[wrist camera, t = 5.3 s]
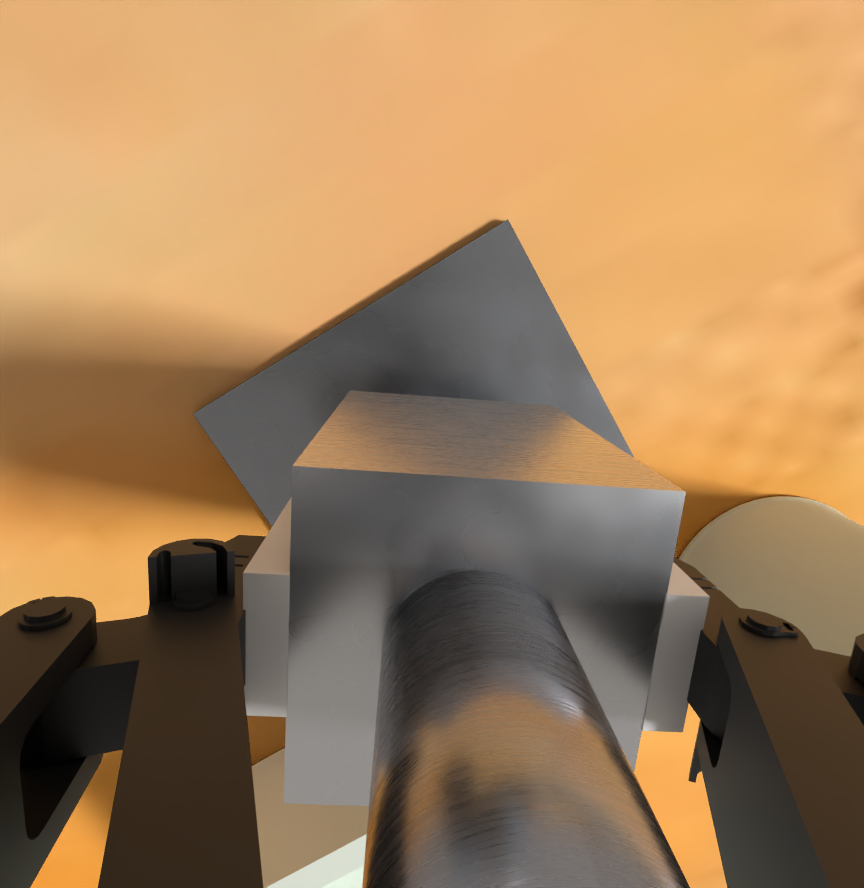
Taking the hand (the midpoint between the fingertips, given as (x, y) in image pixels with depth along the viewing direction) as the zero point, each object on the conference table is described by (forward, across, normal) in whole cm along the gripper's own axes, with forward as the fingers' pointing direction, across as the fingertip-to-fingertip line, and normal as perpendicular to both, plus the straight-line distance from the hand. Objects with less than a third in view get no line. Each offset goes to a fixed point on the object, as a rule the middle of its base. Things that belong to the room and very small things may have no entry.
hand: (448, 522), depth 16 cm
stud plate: (+7, 0, 0) cm, 7 cm away
